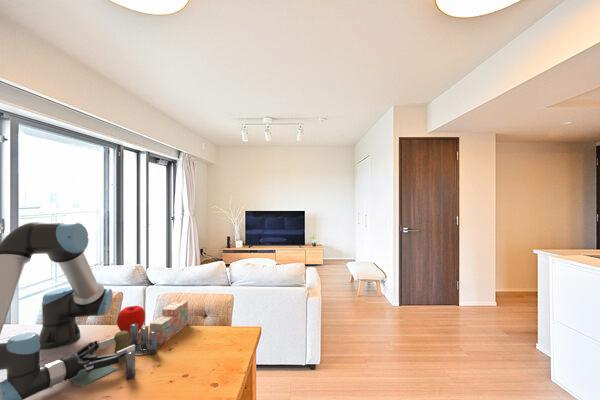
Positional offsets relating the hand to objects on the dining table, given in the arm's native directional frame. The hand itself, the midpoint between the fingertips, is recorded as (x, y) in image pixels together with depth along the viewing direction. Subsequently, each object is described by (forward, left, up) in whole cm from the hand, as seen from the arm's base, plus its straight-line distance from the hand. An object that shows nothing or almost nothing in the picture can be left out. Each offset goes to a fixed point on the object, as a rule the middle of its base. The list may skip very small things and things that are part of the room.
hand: (124, 343), depth 119 cm
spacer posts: (+4, +1, -6) cm, 7 cm away
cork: (0, -1, -6) cm, 6 cm away
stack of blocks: (-4, +23, -6) cm, 24 cm away
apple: (-18, +13, -6) cm, 23 cm away
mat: (-2, -12, -6) cm, 14 cm away
